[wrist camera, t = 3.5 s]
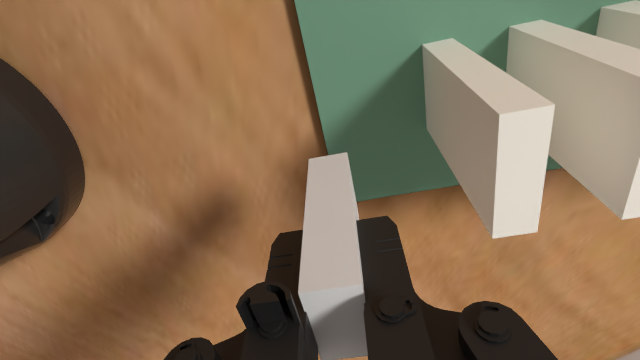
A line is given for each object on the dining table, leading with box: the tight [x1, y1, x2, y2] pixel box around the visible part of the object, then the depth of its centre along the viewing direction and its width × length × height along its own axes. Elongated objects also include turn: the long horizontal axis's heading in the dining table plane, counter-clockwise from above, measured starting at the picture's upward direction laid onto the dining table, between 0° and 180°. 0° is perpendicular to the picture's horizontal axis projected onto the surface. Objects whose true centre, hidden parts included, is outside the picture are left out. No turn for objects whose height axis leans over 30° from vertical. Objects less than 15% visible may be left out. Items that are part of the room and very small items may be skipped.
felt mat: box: [294, 0, 640, 202], centre depth 20 cm, size 34×14×1 cm, turn 102°
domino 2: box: [506, 20, 640, 220], centre depth 16 cm, size 2×5×10 cm, turn 12°
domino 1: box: [422, 38, 555, 239], centre depth 16 cm, size 2×5×10 cm, turn 12°
